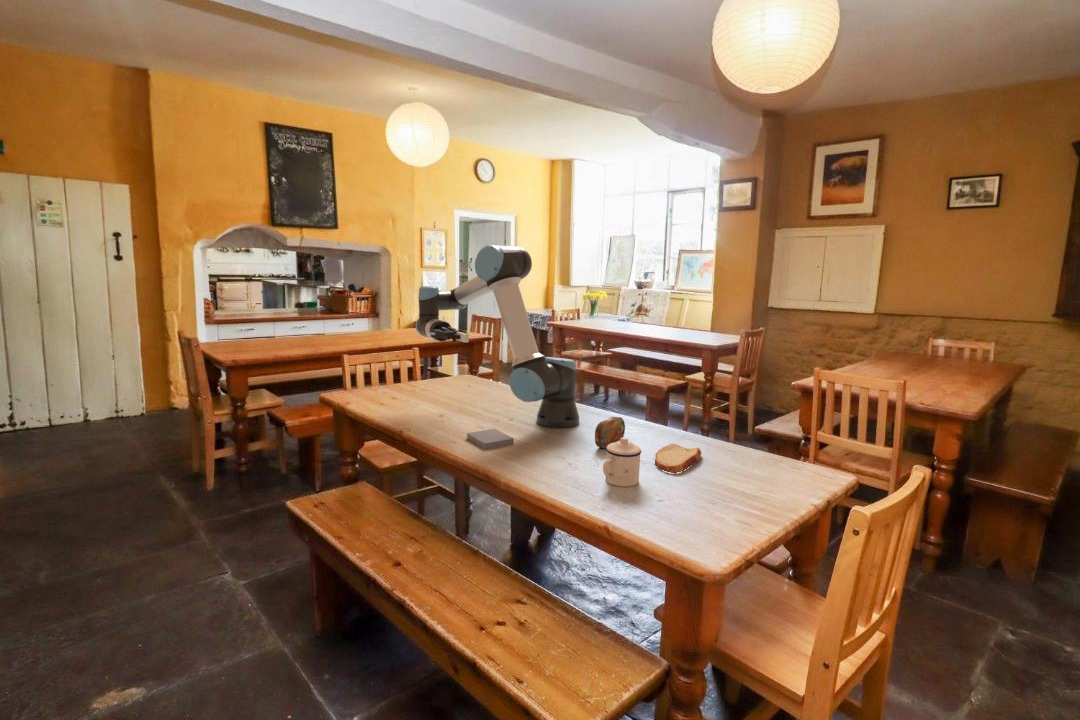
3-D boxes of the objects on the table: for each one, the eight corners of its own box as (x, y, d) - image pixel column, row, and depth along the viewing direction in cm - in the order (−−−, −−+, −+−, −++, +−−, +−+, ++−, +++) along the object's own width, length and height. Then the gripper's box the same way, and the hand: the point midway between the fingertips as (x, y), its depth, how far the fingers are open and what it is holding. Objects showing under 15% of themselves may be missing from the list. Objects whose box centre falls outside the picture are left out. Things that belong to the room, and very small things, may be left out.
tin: (601, 452, 169) (602, 425, 168) (592, 449, 171) (593, 423, 170) (625, 440, 181) (626, 415, 180) (616, 438, 183) (617, 413, 182)
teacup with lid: (619, 471, 153) (622, 431, 151) (646, 482, 147) (649, 439, 145) (589, 482, 146) (591, 439, 143) (616, 493, 139) (619, 448, 137)
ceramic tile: (467, 433, 178) (485, 443, 169) (494, 428, 184) (513, 438, 174) (467, 439, 179) (485, 450, 169) (494, 435, 184) (513, 445, 175)
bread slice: (666, 476, 152) (667, 463, 151) (637, 454, 169) (638, 442, 168) (724, 471, 157) (725, 458, 156) (690, 450, 174) (691, 438, 173)
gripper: (455, 339, 212) (483, 348, 193) (422, 341, 205) (448, 350, 186) (455, 319, 211) (484, 326, 191) (422, 320, 204) (448, 328, 184)
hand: (466, 338), depth 189 cm, fingers closed
